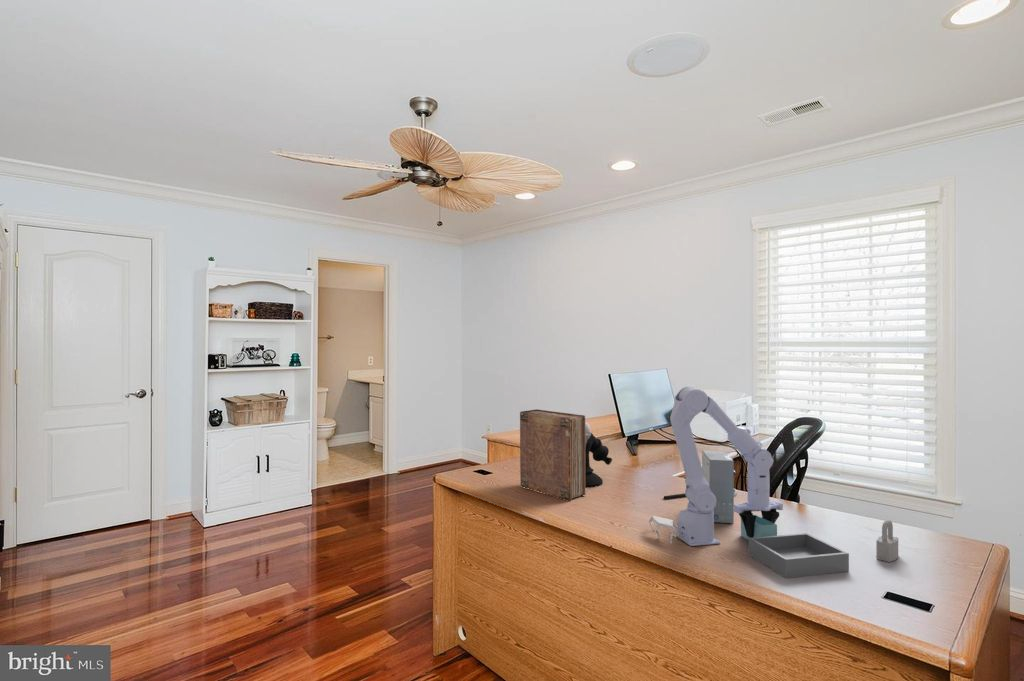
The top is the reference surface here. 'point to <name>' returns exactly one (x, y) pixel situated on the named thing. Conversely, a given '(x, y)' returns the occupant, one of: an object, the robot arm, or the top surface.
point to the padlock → (887, 543)
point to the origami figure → (665, 523)
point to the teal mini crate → (760, 528)
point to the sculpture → (594, 457)
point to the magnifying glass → (685, 495)
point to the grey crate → (798, 555)
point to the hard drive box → (720, 483)
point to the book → (553, 453)
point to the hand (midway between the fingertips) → (758, 535)
